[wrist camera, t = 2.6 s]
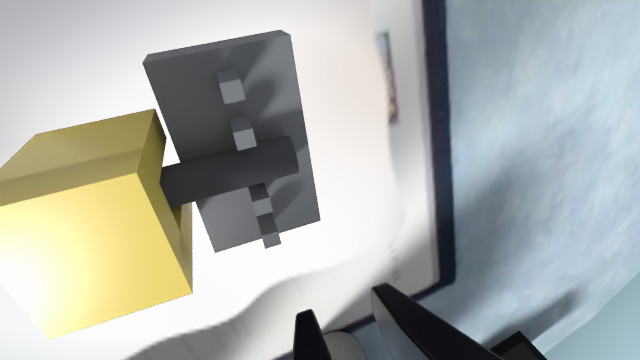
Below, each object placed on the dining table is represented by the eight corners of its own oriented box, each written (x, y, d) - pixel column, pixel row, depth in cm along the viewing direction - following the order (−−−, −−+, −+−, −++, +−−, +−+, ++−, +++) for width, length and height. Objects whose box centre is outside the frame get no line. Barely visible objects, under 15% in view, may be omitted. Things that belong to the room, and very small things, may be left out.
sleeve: (191, 203, 19) (192, 293, 13) (93, 230, 18) (49, 339, 12) (154, 108, 16) (136, 172, 11) (35, 134, 15) (-54, 220, 10)
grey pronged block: (310, 202, 22) (332, 241, 18) (213, 231, 21) (217, 278, 17) (280, 29, 17) (302, 40, 13) (147, 54, 15) (135, 73, 12)
